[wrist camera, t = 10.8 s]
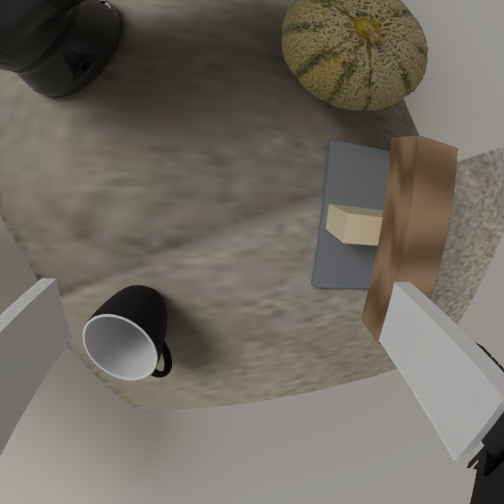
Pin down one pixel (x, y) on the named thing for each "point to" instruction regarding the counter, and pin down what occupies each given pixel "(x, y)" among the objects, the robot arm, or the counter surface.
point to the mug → (129, 334)
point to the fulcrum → (350, 215)
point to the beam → (411, 222)
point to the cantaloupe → (354, 51)
